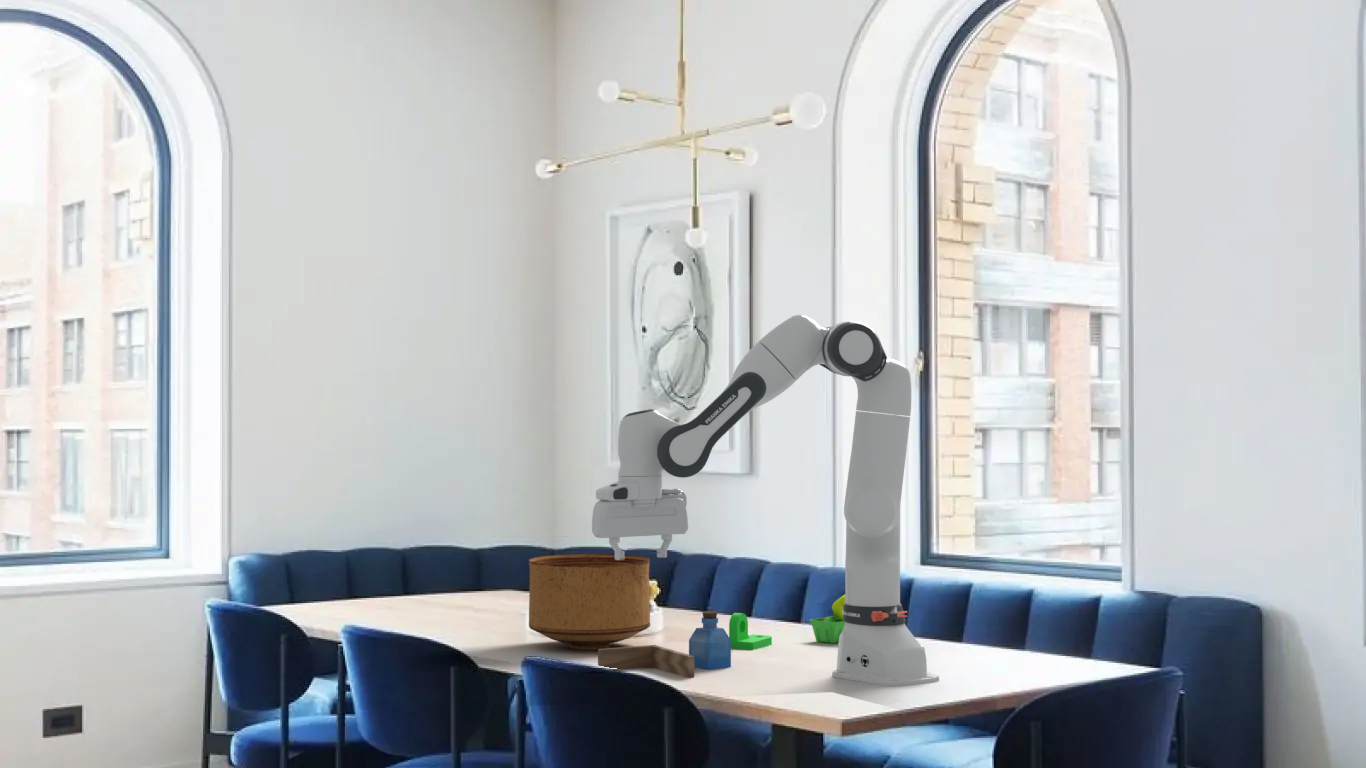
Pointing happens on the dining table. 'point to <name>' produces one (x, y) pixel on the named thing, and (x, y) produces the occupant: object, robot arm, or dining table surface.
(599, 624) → the pot
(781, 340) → the robot arm
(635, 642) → the dining table surface
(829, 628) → the fruit basket
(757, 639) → the mechanical part
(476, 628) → the dining table surface
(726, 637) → the perfume bottle
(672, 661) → the l-shaped wooden board
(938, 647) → the dining table surface
